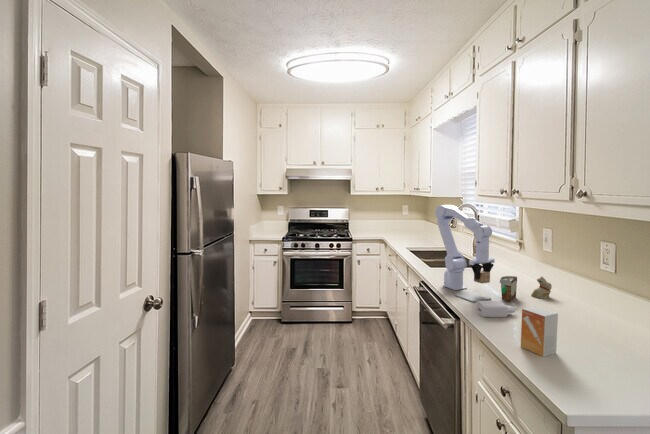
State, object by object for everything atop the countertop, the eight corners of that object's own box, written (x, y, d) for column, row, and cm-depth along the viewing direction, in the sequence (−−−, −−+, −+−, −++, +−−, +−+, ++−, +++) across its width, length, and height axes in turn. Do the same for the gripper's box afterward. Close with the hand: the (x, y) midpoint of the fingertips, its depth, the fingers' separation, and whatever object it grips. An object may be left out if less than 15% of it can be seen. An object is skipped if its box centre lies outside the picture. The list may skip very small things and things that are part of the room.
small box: (520, 347, 122) (521, 308, 121) (533, 343, 125) (534, 305, 124) (543, 357, 115) (544, 316, 114) (557, 353, 117) (558, 313, 116)
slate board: (454, 295, 181) (454, 294, 181) (471, 293, 185) (471, 291, 185) (472, 302, 170) (472, 301, 170) (491, 299, 174) (491, 298, 174)
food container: (502, 294, 182) (503, 274, 181) (516, 297, 178) (517, 276, 178) (495, 300, 173) (496, 279, 172) (510, 303, 169) (510, 281, 168)
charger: (522, 318, 149) (483, 318, 150) (512, 311, 159) (475, 310, 160) (522, 307, 149) (484, 306, 150) (512, 300, 158) (476, 299, 159)
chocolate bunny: (549, 299, 174) (550, 278, 173) (530, 296, 179) (531, 276, 178) (551, 296, 178) (552, 276, 177) (533, 294, 183) (533, 273, 183)
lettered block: (473, 281, 182) (474, 271, 181) (481, 280, 184) (481, 270, 183) (482, 283, 177) (482, 273, 177) (489, 282, 179) (490, 272, 179)
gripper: (477, 253, 173) (476, 281, 174) (500, 250, 179) (499, 278, 180) (466, 250, 179) (465, 278, 180) (488, 248, 185) (487, 275, 186)
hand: (481, 278), depth 181 cm, fingers closed on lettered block, 5 cm apart
